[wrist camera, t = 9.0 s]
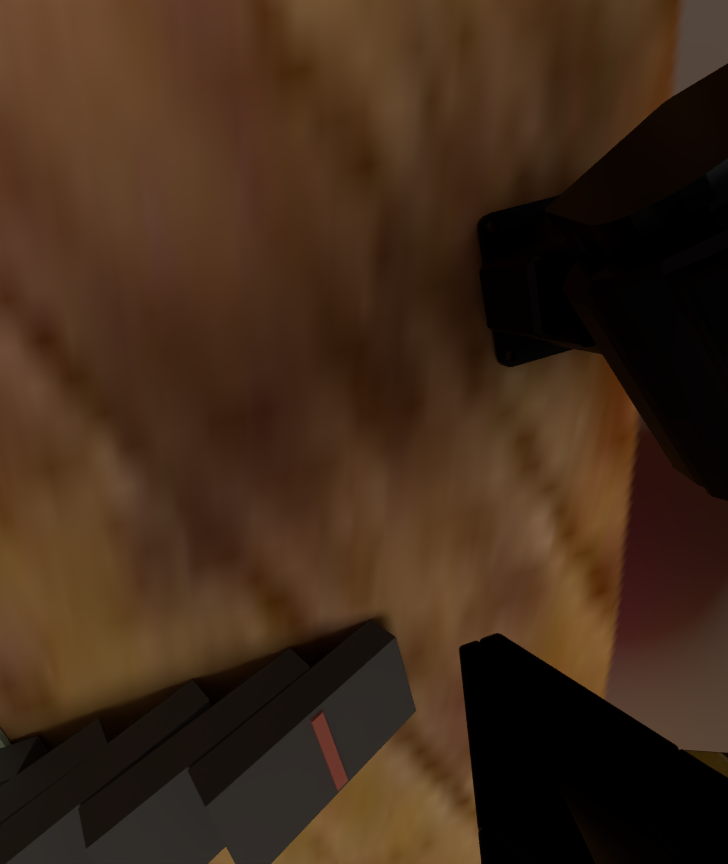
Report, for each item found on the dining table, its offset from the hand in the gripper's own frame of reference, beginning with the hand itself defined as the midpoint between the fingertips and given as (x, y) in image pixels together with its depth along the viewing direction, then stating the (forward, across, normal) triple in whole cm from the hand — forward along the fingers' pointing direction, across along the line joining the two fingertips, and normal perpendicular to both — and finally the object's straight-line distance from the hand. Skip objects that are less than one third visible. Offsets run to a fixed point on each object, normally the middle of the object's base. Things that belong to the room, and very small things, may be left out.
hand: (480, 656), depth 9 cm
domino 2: (+12, +6, +12) cm, 18 cm away
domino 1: (+12, +1, +12) cm, 17 cm away
